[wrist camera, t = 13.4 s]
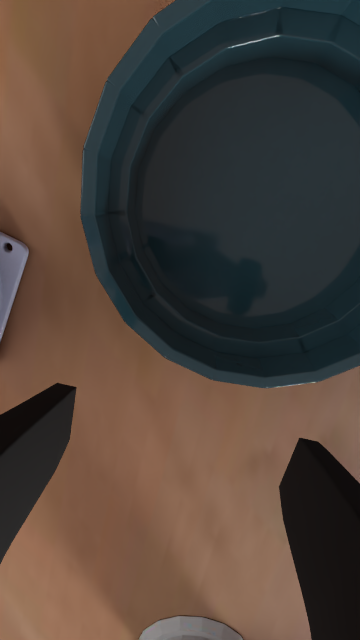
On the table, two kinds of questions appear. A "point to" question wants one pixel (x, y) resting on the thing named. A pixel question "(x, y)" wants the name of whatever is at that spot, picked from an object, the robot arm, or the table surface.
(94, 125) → the bowl
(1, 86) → the table surface
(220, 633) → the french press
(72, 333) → the table surface
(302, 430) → the table surface
